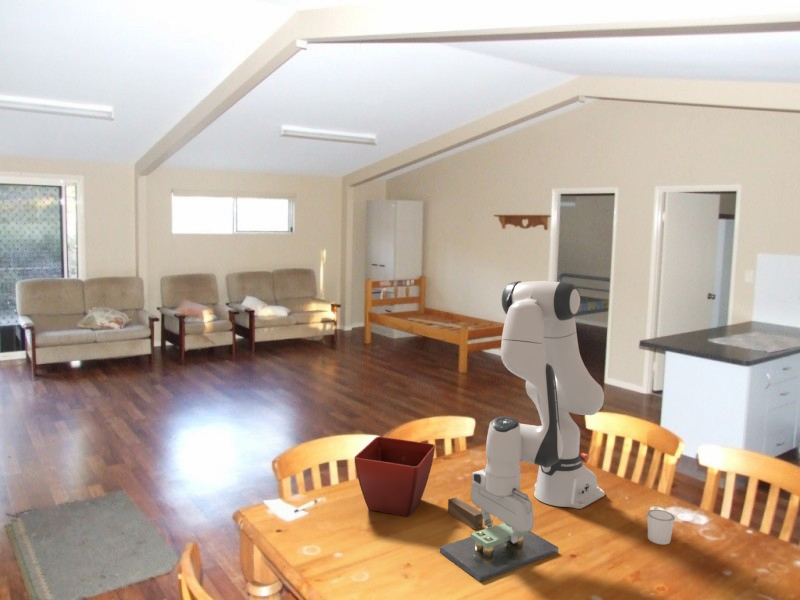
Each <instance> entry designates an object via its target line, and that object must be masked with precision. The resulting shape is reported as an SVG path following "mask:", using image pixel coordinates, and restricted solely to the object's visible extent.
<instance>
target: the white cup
mask: <svg viewBox="0 0 800 600" xmlns="http://www.w3.org/2000/svg"><path fill="white" fill-rule="evenodd" d="M646 518H647V538H648V540H649V541H650V542H652V543H654V544H657V545H668V544H670V543H671V540H672V533H673V529H674V523H675V515H674V514H673V513H672V512H669V511H666V510H663V509H651V510H648V511H647V517H646Z"/></svg>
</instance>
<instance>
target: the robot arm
mask: <svg viewBox="0 0 800 600" xmlns="http://www.w3.org/2000/svg"><path fill="white" fill-rule="evenodd" d="M501 294H502V295H501V307H502V309H503V312H504V314H505V319H504V325H503V328H502V333H501V335H502V336H501V344H500V358H501V359H500V360H501V361H502V364H503V365H504V367H505V368H506V369H507V370H508V371H509V372H510V373H512V374H513V375H515V376H516V377H518V378H520V379H522V380H525V391H526V394H527V395H528V397H529V398H530V400H531V401H532V402H533V403H534V405H535V407H536V410H537V412H538V415H539V418H540V422H541V425H534V424H533V425H532V424H525V423H521V422H519V421H518V419H516V418H514V417H510V416H497V417H496V418H494V419H492V420H490V422H489V426H488V430H487V437H486V444H485V446H486V447H485V456H486V464H485V468H484V469H480V470H477V471H473V472H471V480H472V482H471V485H470V486H471V487H470V499H471V500H470V501H471V502H472V504H473V505H475V506H476V507H478V508H480V512H481V513H482V516H483V526H485V527H486V528H490V527H493V522H494V520H493V519H492V518H491V516H493V517H494V518H496V519H498V520H499V521H501V522H503V523H506V524H508V525H509V526H511V527H512V531H513V533H512V534H509V539H508V540H509V541H510V542H512V543H516V542H517V541H518V535H519V534H520V532H521V533H524V532H527V531H532V529H534V524H535V523H534V522H535V520H534V519H535V518H534V507H533V502H532V500H531V499H530V498H529V495H528V494H526V493H525V492H523V491H521V490H520V489H521V472H522V471H521V467H520V463H521V462H524V463H529V464H534V465H536V466H538V471H537V477H536V482H535V483H534V489H535V490H534V491H533V495H534V497H535V498H536V500H538V501H539V502H541V503H544V504H547V505H550V506H555V507H562V508H563V507H566V508H574V509H577V510H578V509H581V510H582V509H583V508H585V507H587V506H589V505H590V504H592V503H594V502H596V501H598V500H599V499H601V498H603V497H605V491H604V490H603V489H602V488H601V487H600V486H599V485H598V480H597V479H598V478H597V476H596V475H595V473H594V472H593V471H592V470H590V469H589V468H588V467H587V466H585V465H584V464H583V461H585V462H587V461H588V460H589V458H590V456H589V454H588V453H584V452H582V453H580V443H581V442H580V441H581V440H580V439H581V430H580V427H579V426H578V424H577V423H576V422H575V421H574V420H573V418H572V417H571V415H570V413H571V414H574V415H581V416H593V415H596V414H597V413H598V412H599V411H600V410H601V409H602V407H603V405H604V401H605V393H604V389H603V387H602V386H601V384H599V382H597V381H596V380H595V379H594V377H592V376H591V374H590V372H589V371H588V369H587V367H586V366H585V364H584V361H583V359H582V355H581V354H580V348H579V343H578V342H579V341H578V334H577V325H576V320H575V316H576V315H577V314H579V311H580V307H581V294H580V291H579V289H578V288H577V286H576V285H575V284H573V283H571V282H567V281H556V280H555V281H553V280H531V281H528V280H527V281H520V280H519V281H513V282H510V283H508V284H507V285H506V286H505V288H504V289H503V291H502V293H501ZM582 460H583V461H582Z"/></svg>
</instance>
